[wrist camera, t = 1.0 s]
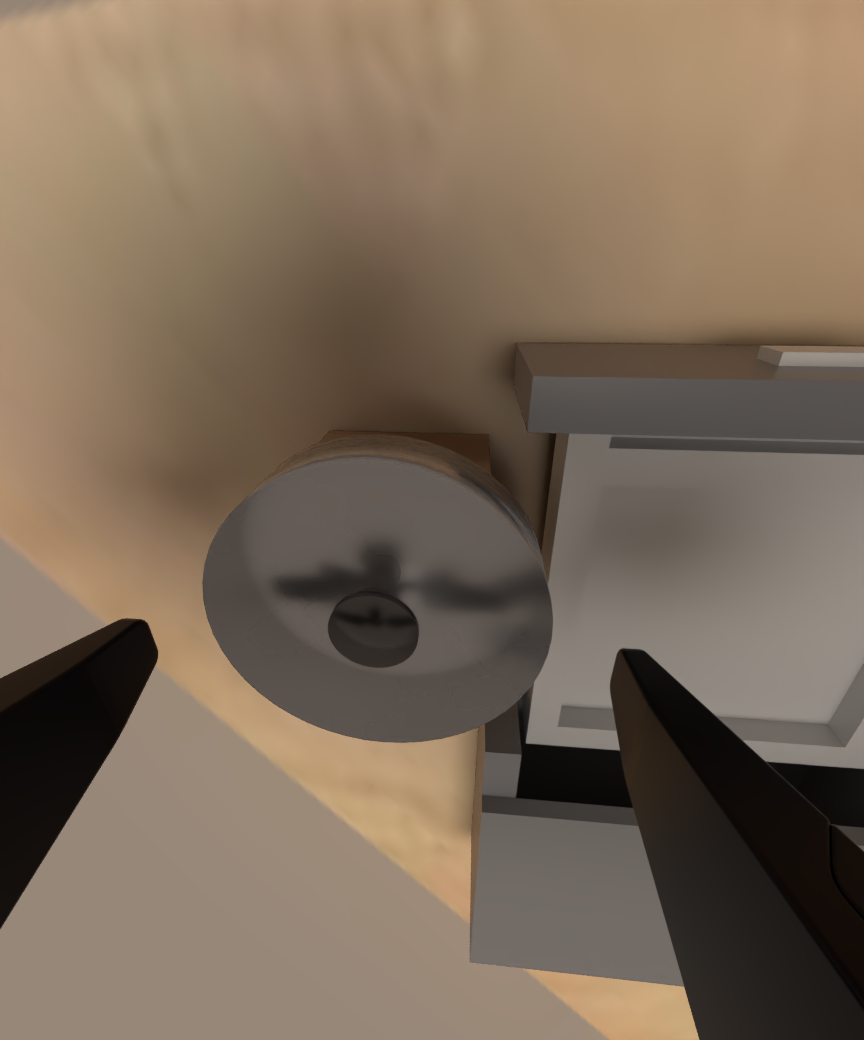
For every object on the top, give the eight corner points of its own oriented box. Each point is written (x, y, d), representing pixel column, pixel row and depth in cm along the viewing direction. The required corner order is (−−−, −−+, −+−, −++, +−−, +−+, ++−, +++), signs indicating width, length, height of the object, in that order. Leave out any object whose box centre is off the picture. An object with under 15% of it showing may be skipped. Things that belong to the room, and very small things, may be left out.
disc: (561, 438, 9) (579, 475, 7) (527, 697, 12) (534, 761, 11) (208, 429, 9) (153, 462, 8) (266, 680, 13) (236, 738, 11)
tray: (1078, 336, 11) (1378, 371, 7) (850, 709, 16) (953, 831, 13) (517, 332, 11) (534, 360, 8) (489, 685, 17) (492, 792, 14)
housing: (874, 668, 16) (1015, 811, 12) (757, 860, 21) (823, 1002, 17) (483, 645, 17) (485, 768, 13) (471, 834, 22) (469, 962, 18)
